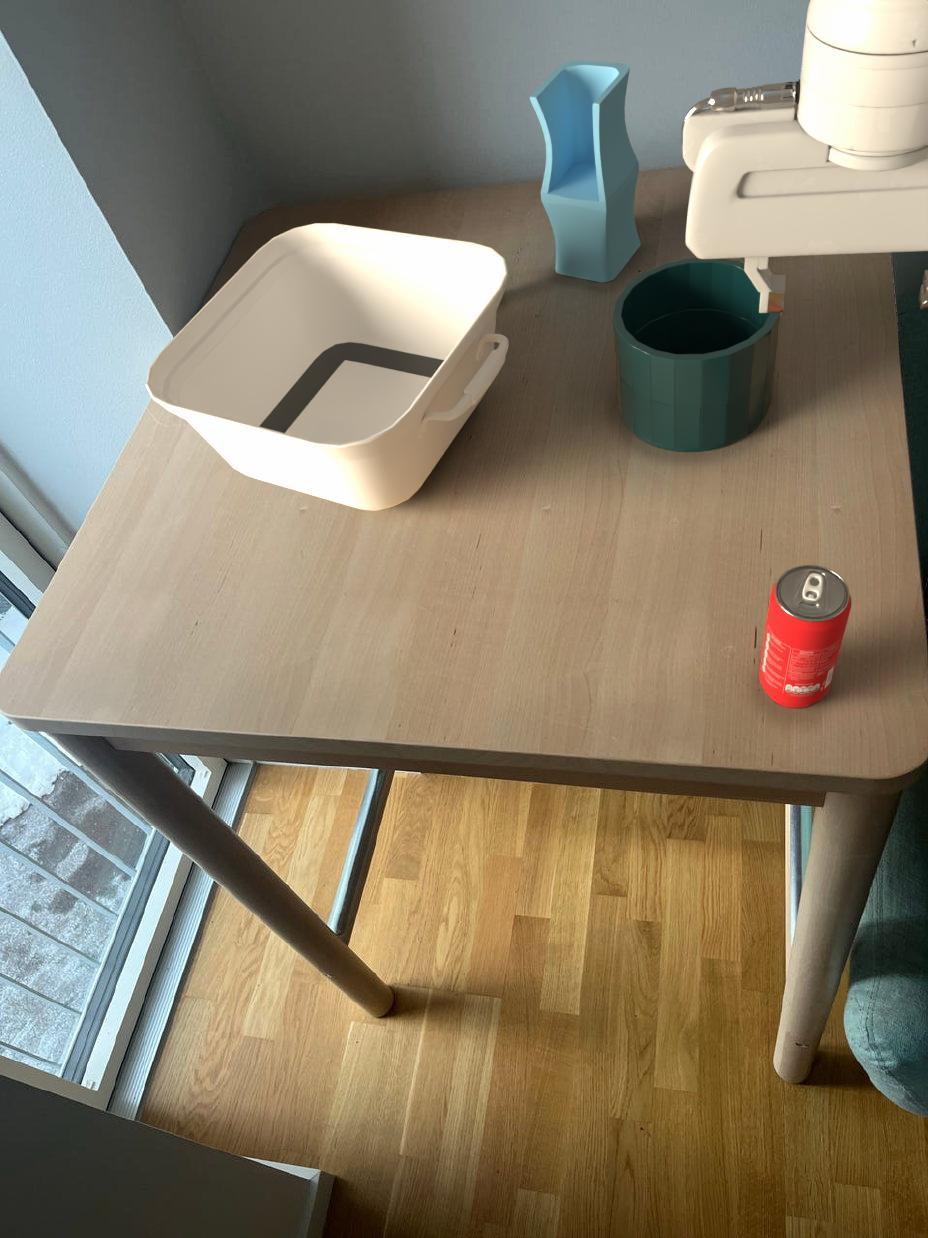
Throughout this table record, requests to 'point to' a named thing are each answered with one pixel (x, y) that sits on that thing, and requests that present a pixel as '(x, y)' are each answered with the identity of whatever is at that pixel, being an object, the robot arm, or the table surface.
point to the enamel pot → (693, 355)
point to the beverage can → (803, 635)
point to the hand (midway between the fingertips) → (849, 305)
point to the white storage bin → (340, 360)
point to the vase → (588, 168)
